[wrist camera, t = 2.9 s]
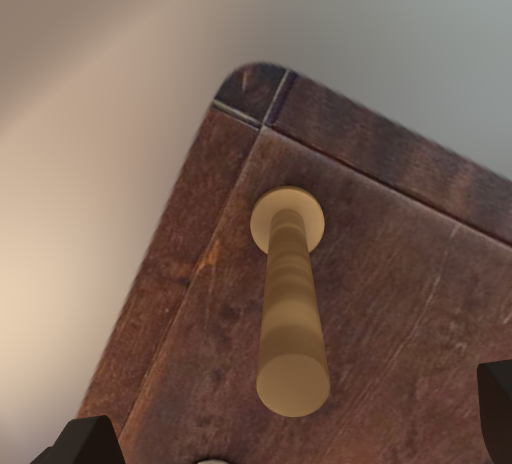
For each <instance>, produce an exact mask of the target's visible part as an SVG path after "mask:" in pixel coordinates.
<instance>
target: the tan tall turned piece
mask: <svg viewBox="0 0 512 464" xmlns="http://www.w3.org/2000/svg"><path fill="white" fill-rule="evenodd" d="M324 226H325V222H324V216H323V212H322V209H321V207H320V205H319V203H318V201H317V200H316V198H315V197H314V196H313V195H312V194H310V193H309V192H308V191H306V190H304V189H302V188H300V187H296V186H290V185H285V186H279V187H275V188H273V189H270V190H269V191H267V192H266V193H264V194H263V195H262V196H261V197H260V198H259V199H258V201H257V202H256V204H255V206H254V208H253V211H252V215H251V220H250V228H251V233H252V236H253V239H254V241H255V242H256V244H257V245H258V247H259V248H260V249H261V250H262V251H264V252H265V253H266V254H268V258H267V269H266V280H265V291H264V302H263V313H262V324H261V335H260V347H259V358H258V369H257V380H256V388H257V392H258V395H259V397H260V399H261V400H262V402H263V403H264V404H265V405H266V406H267V407H268V408H269V409H270V410H272V411H273V412H275V413H278V414H280V415H284V416H289V417H299V416H304V415H308V414H310V413H312V412H314V411H316V410H317V409H318V408H320V407H321V406H322V405H323V404H324V402H325V401H326V399H327V397H328V395H329V392H330V378H329V372H328V366H327V359H326V353H325V347H324V341H323V335H322V329H321V323H320V317H319V311H318V305H317V299H316V293H315V287H314V281H313V275H312V269H311V263H310V257H309V253H310V252H311V251H312V250H313V249H314V248H315V247H316V246H317V245H318V243H319V242H320V240H321V238H322V236H323V233H324Z"/></svg>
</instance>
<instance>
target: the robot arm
mask: <svg viewBox="0 0 512 464" xmlns="http://www.w3.org/2000/svg"><path fill="white" fill-rule="evenodd" d="M477 379H478V392H479V406H480V419H481V429H482V434H483V438H484V442H485V445H486V448H487V450H488V453H489V455H490V457H491V459H492V461H493V463H494V464H512V359H511V360H503V361H496V362H489V363H482V364H479V365H478V368H477ZM30 464H126V463H125V460H124V457H123V454H122V451H121V449H120V446H119V443H118V440H117V437H116V434H115V431H114V428H113V425H112V423H111V420H110V419H109V418H108V417H107V416H106V415H102V416H94V417H87V418H80V419H73V420H71V421H69V422H68V424H67V425H66V426H65V428H64V429H63V431H62V432H61V434H60V436H59V437H58V439H57V440H56V442H55V444H54V445H53V446H52V447H48V448H46V449H45V450H44V451H43V452H42V453H41V454H40V455H39V456H38V457H37V458H35V459H34V460H33V461H32V462H31V463H30Z"/></svg>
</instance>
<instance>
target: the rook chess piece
mask: <svg viewBox="0 0 512 464" xmlns="http://www.w3.org/2000/svg"><path fill="white" fill-rule="evenodd" d="M198 464H229V463H227V462H225V461H222V460H215V459H211V460H205V461H201V462H199V463H198Z"/></svg>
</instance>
